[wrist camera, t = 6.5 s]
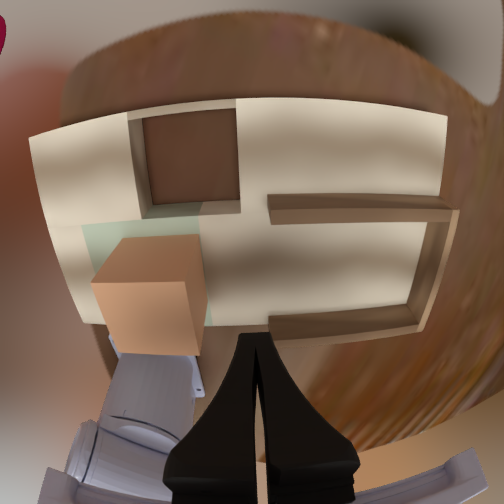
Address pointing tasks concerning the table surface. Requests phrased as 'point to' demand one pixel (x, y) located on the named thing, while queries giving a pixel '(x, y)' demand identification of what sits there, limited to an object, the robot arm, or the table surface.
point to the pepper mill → (2, 32)
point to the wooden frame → (367, 211)
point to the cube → (154, 295)
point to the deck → (250, 204)
